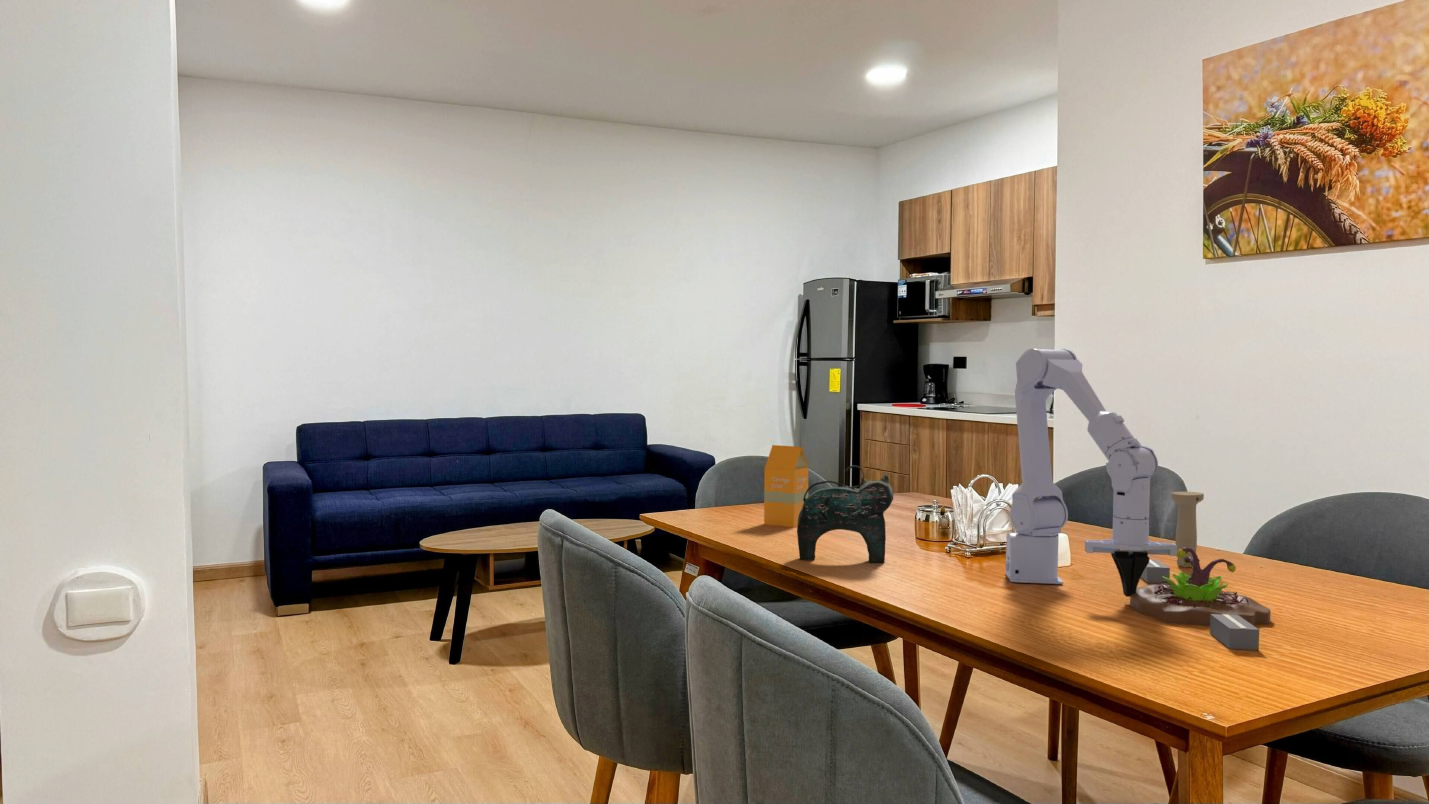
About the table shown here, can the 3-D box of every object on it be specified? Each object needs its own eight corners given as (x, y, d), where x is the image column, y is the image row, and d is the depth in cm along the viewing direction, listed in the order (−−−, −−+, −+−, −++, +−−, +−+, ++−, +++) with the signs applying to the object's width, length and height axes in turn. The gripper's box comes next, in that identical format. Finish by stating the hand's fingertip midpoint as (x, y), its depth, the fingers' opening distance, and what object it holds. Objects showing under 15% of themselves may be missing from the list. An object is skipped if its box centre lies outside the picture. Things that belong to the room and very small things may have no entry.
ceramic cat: (892, 559, 201) (893, 464, 200) (893, 565, 194) (894, 468, 193) (798, 555, 204) (798, 462, 203) (795, 562, 198) (796, 466, 197)
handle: (1206, 567, 194) (1208, 494, 193) (1184, 570, 191) (1186, 495, 191) (1186, 562, 198) (1188, 491, 198) (1164, 565, 196) (1166, 492, 195)
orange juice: (794, 527, 238) (794, 448, 238) (763, 524, 243) (764, 446, 242) (808, 523, 245) (809, 445, 244) (778, 520, 250) (779, 444, 249)
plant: (1110, 598, 170) (1112, 535, 169) (1221, 598, 170) (1222, 536, 169) (1162, 629, 150) (1164, 559, 149) (1287, 630, 150) (1289, 560, 149)
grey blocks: (1229, 648, 139) (1229, 627, 138) (1135, 573, 188) (1135, 557, 188) (1258, 650, 138) (1259, 629, 138) (1156, 574, 187) (1157, 558, 187)
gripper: (1091, 519, 161) (1090, 599, 162) (1183, 522, 159) (1181, 602, 159) (1082, 513, 168) (1081, 589, 169) (1170, 515, 166) (1168, 592, 166)
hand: (1129, 595), depth 164 cm, fingers closed
